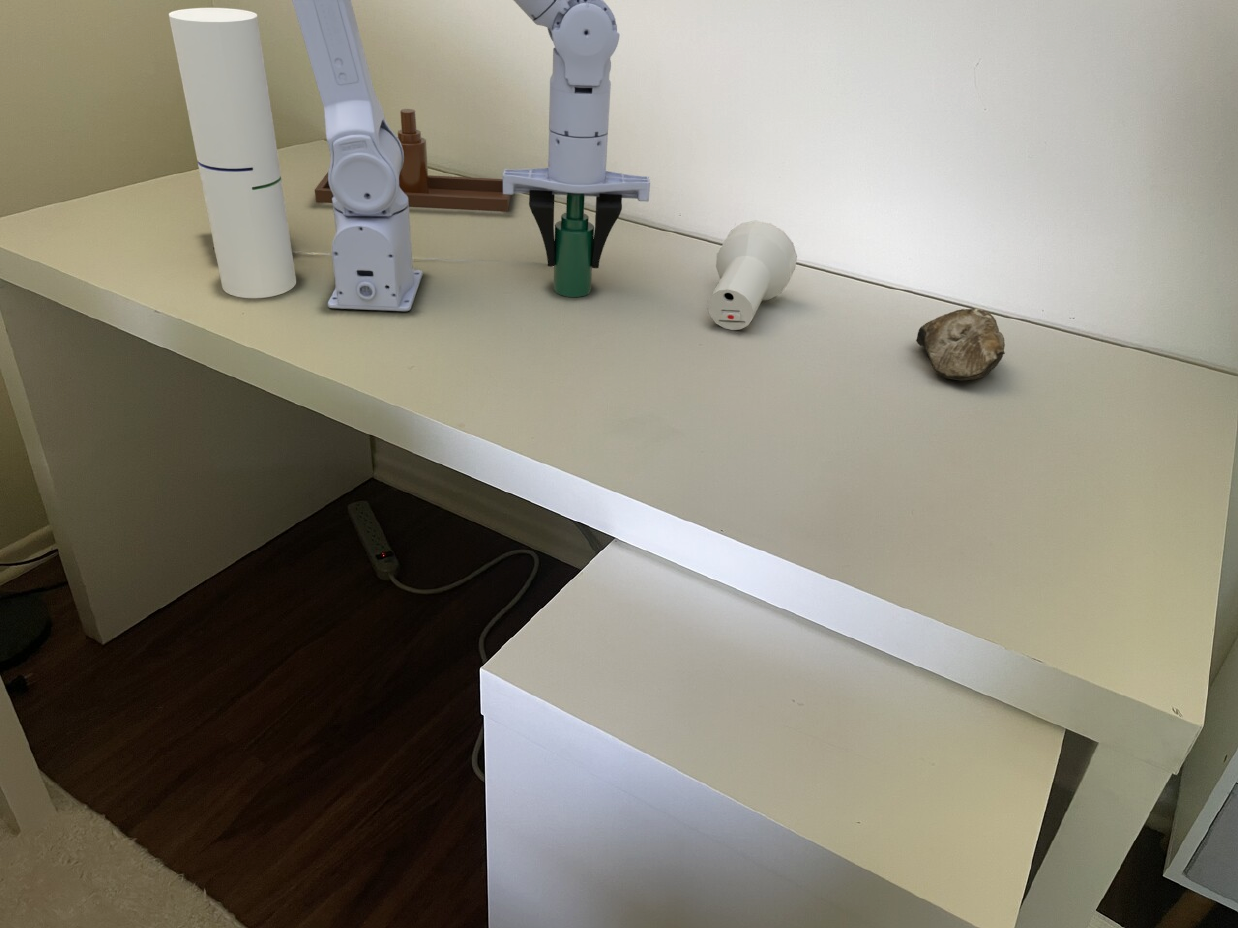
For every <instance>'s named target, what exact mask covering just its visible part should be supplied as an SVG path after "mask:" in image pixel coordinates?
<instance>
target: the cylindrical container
mask: <svg viewBox="0 0 1238 928" xmlns="http://www.w3.org/2000/svg"><path fill="white" fill-rule="evenodd" d="M168 18H169V24H170V28H171V34H172V37H173V38H172V39H173V43H174V50H175V53H176V58H177V64H178V69H179V75H180V81H181V84H182V89H183V90H182V91H183V94H184V95H183V96H184V100H185V105H186V109H187V114H188V115H187V116H188V120H189V126H190V131H191V135H192V140H193V146H194V151H195V155H196V160H197V165H198V172H199V176H200V182H201V186H202V192H203V196H204V197H203V198H204V201H205V206H206V207H205V208H206V211H207V217H208V220H209V221H208V222H209V227H210V232H211V237H212V242H213V247H214V248H215V251H214V253H216V254H215V257H216V263H217V268H218V272H219V273H218V274H219V277H220V283H221V289H222V290H223V291H224V292H225V293H226V294H228V295H230V296H233V297H236V298H243V299H264V298H271V297H276V296H279V295H282V294H285V293H287V292H289V291H291V290H292V289H293V288H294V287H295V286H296V284H297V276H296V270H295V264H294V256H293V250H292V243H291V236H290V230H289V229H290V228H289V223H288V222H289V221H288V216H287V208H286V202H285V201H286V200H285V196H284V188H283V181H282V175H281V168H280V160H279V154H278V148H277V146H278V145H277V139H276V134H275V126H274V120H273V113H272V107H271V101H270V99H271V98H270V93H269V86H268V85H269V84H268V81H267V80H268V79H267V73H266V66H265V57H264V51H263V46H262V38H261V32H260V31H261V30H260V24H259V19H258V14H257V13H256V12H253V11H250V10H246V9H239V8H230V7H229V8H227V7H194V8H183V9H178V10H177V9H176V10H173V11H171V12H169V13H168Z"/></svg>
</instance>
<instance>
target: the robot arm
mask: <svg viewBox="0 0 1238 928" xmlns="http://www.w3.org/2000/svg"><path fill="white" fill-rule="evenodd" d="M291 1H292V5H293V8H294V12H295V16H296V18H297V21H298V25H299V28H300V32H301V35H302V40H303V42H304V45H305V49H306V52H307V53H306V54H307V57H308V59H309V62H310V63H309V64H310V66H311V69H312V73H313V76H314V79H315V82H316V87H317V91H318V93H319V96H320V101H321V103H322V107H323V114H324V125H325V126H324V128H325V138H326V142H327V146H328V149H329V153H330V162H329V167H328V171H327V173H328V181H329V186H330V189H331V191H332V193H333V198H332V203H331V204H332V211H333V218H334V227H335V235H334V237H333V240H332V244H331V258H332V267H333V275H334V283H335V288H334V290H333V292H332V294H331V295H330V298H329V299H328V302H327V307H328V308H329V309H341V310H365V311H366V310H368V311H389V312H408V311H410V310H411V309H412V306H413V303H414V301H415V297H416V294H417V291H418V289H419V287H420V283H421V281H422V277H423V271H422V270H420V269H414V265H413V264H414V263H413V262H414V261H413V248H412V233H411V232H412V231H411V219H410V207H409V204H408V203H409V201H408V197H407V195H406V194H405V193H404V192H403V191H402V190H401V188H400V187H399V175H400V171H401V169H402V166H403V163H404V152H403V148H402V145H401V142H400V141H399V139H398V135H396V134H395V132H394V131H393V130H392V128H391V127H390V126H389V124H388V122H387V119H386V117H385V113H384V108H383V106H382V105H381V102H380V100H379V98H378V96H377V94H376V91H375V88H374V84H373V80H372V75H371V72H370V69H369V65H368V60H367V57H366V54H365V48H364V45H363V42H362V38H361V35H360V30H359V27H358V22H357V18H356V15H355V11H354V7H353V4H352V3H353V2H352V0H291ZM513 2H514V3H515V4H516V5H517V6H518V7H519V8H520V9H521V10H522V12H524V14H526V15H527V17H528V18H529V19H530V20H531V21H532V22H533V23H534V24H535V25H537V26H540V27H545V28H547V32H548V35H549V37H550V39H551V41H552V43H553V45H554V47H553V48H552V73H551V76H550V78H549V108H548V109H549V111H548V115H549V116H548V156H547V157H548V159H547V161H548V162H547V167H538V168H537V167H536V168H520V169H518V168H517V169H516V168H515V169H511V168H504V169H503V171H502V179H503V194H509V195H511V196H512V195H515V193H516V194H517V193H518V194H529V196H528V207H529V210H530V212H531V214H532V216H533V218H534V220H535V222H536V224H537V227H538V230H539V232H540V235H541V238H542V241H543V245H544V249H545V255H546V260H547V266H548V267H554V263H555V251H554V244H555V197H556V195H557V196H567V193H584V196H585V197H592V198H593V197H594V198H595V219H594V239H593V255H592V269H599V267H600V261H601V258H602V253H603V251H604V248H605V244H606V242H607V239H608V237H609V235H610V233H611V231H612V229H613V228H614V225H615V224H616V222H617V220H618V219H619V217H620V215H621V212H622V210H623V202H622V201H623V199H633V200H634V199H635V200H637V201H638V202H647V203H648V202H649V200H650V189H651V179H650V176H644V175H634V174H627V173H623V172H615V171H609V170H607V157H608V140H609V126H610V125H609V124H610V123H609V122H610V105H611V90H612V87H611V86H612V82H611V80H610V74H611V69H612V60H611V58H612V56H613V55H614V53H615V52H616V50H617V47H618V44H619V41H620V33H619V32H618V24H617V22H616V18H615V17H616V16H615V15H614V13H613V10H612V9H611V8H610V7H609V5H608V4H607V3H606V2H605V0H513Z"/></svg>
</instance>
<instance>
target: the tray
mask: <svg viewBox="0 0 1238 928" xmlns="http://www.w3.org/2000/svg"><path fill="white" fill-rule="evenodd" d="M428 183H429V194H426V193H406V192H404V193H405V194H406V195H407V197H408V201H409V203H408V204H409V208H421V209H422V208H423V209H424V208H426V209H442V210H443V209H445V210H466V211H485V212H504V213H505V212H507V213H508V212H509V207H510V202H511V196H512V195H509V194H503V178H490V177H489V178H487V177H470V176H468V177H467V176H452V175H451V176H450V175H449V176H448V175H431V174H428ZM314 197H315V202H316V203H321V204H322V203H323V204H324V203H325V204H333V203H332V198H333V193H332V191H331V189H330V186H329V181H328V172H326V174H325V175H324V177H322V179H321V181H320V182H319V183H318V185H317V186H316V188H315V189H314Z"/></svg>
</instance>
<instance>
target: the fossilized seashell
mask: <svg viewBox="0 0 1238 928" xmlns="http://www.w3.org/2000/svg"><path fill="white" fill-rule="evenodd" d="M999 329H1000V328H999V326H998V322H997V320H996V318H995V317H994V316H993V315H992V314H991V313H990V312H988V311H986V310H984V309H980V308H966V309H965V308H962V309H961V308H960V309H957V310H954V311H951V312H948V313H946V314H943V315H941V316H938V317H936V318H935V319H932V320H930V321H927V322H926V323H924V324H923V325H921V326H920V327H919V329H918V332H917V336H916V339H915V342H916V343H917V344H918V345H919V346H921V347H922V348H924V349H925V351H926V353H927V357H928V359H929V361H930V363H931V365H932V367H933V369H934V371H935V372H936V373H937V375H939V376H941V377H943V378H944V379H948V380H950V379H951V380H956V381H962V382H963V381H974V380H978V379H980V378H983V377H986V376H987V375H989V373H991V372H992V371H993V370H995V369H996V367H997V366H998V365H999V363H1000V362H1001V361H1002V359H1003V356H1004V355H1005V354H1006V352H1005V346H1006V344H1005V337H1004V335H1003V333H1002V332H1001V331H1000V330H999Z"/></svg>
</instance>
